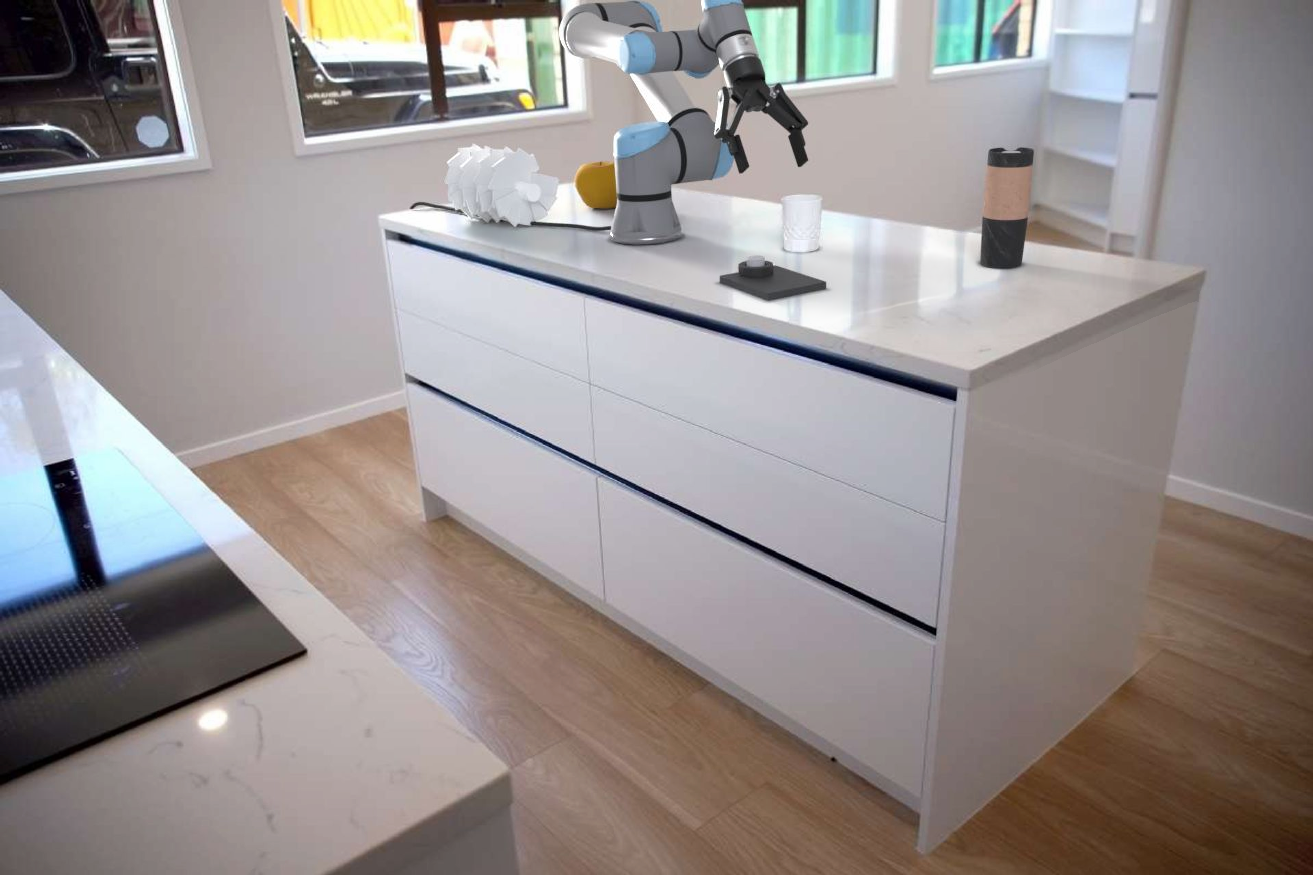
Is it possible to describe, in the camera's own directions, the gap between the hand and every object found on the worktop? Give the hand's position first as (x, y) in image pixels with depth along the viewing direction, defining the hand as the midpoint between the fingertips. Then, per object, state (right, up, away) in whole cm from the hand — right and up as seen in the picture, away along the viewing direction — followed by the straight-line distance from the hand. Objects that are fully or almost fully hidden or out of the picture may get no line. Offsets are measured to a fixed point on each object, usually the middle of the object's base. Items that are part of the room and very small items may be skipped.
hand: (774, 167), depth 189 cm
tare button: (-5, -21, -13) cm, 25 cm away
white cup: (+6, -14, +9) cm, 18 cm away
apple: (-36, +6, +60) cm, 70 cm away
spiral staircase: (-59, 0, +49) cm, 77 cm away
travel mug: (+40, -20, -9) cm, 46 cm away
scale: (-2, -25, -16) cm, 30 cm away
